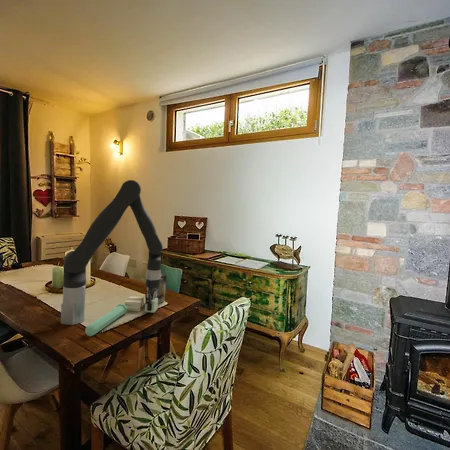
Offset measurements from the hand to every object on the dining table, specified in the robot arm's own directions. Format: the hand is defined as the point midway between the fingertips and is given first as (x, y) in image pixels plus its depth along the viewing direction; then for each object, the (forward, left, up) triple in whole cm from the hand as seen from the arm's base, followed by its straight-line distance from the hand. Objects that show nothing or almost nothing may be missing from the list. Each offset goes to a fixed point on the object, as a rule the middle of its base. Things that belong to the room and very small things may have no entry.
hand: (151, 308), depth 142 cm
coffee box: (+15, +3, -3) cm, 15 cm away
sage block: (0, 0, -1) cm, 1 cm away
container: (-18, +15, -3) cm, 23 cm away
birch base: (+3, +11, -3) cm, 12 cm away
